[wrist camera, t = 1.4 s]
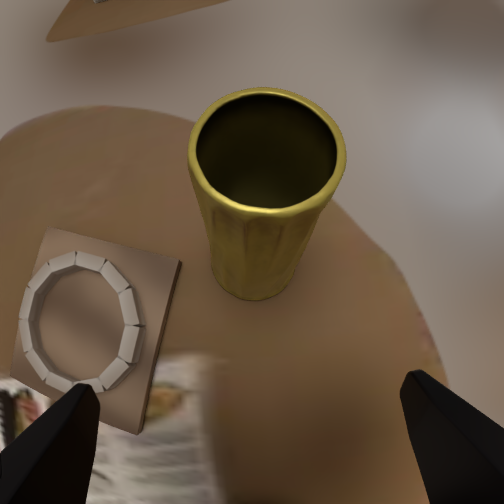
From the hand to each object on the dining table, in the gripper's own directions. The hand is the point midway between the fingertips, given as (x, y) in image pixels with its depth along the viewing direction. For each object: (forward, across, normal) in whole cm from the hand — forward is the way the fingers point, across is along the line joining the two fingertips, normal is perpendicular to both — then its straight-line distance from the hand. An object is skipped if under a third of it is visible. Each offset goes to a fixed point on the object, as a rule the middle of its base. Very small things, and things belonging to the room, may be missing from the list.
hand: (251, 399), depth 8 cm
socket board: (+12, +12, +7) cm, 19 cm away
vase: (+16, -1, +4) cm, 16 cm away
